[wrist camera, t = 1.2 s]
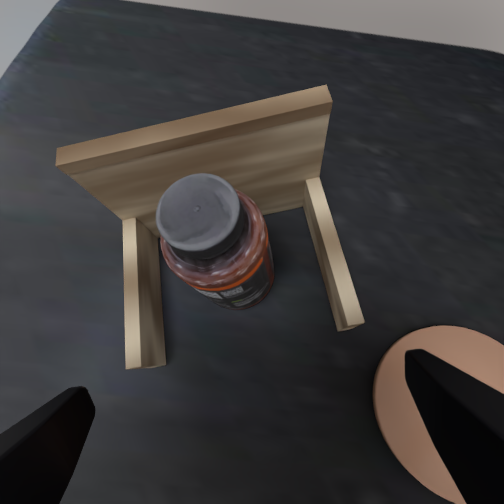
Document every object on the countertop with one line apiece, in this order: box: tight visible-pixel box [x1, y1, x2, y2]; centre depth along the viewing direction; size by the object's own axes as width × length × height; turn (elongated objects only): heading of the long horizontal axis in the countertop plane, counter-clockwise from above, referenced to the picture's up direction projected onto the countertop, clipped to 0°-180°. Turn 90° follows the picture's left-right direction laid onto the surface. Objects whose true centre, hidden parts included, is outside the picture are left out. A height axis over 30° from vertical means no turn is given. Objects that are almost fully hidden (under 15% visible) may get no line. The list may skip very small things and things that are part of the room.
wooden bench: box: [56, 85, 365, 369], centre depth 19 cm, size 12×15×11 cm
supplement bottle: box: [156, 173, 274, 310], centre depth 18 cm, size 6×6×11 cm
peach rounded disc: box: [373, 326, 504, 504], centre depth 18 cm, size 10×10×1 cm
